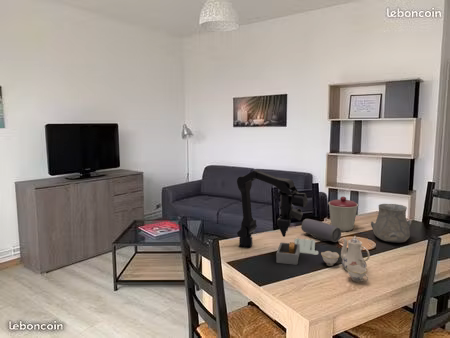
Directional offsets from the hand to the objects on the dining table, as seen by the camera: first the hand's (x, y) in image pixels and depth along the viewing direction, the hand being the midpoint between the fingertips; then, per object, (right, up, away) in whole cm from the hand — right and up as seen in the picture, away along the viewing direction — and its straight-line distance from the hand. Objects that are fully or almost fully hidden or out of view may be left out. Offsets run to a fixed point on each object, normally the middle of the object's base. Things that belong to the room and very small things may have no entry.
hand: (285, 233), depth 174 cm
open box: (+1, -12, -2) cm, 12 cm away
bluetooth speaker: (+25, -8, +26) cm, 37 cm away
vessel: (+65, -8, +21) cm, 69 cm away
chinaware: (+26, -14, -17) cm, 34 cm away
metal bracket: (+12, -11, +10) cm, 19 cm away
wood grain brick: (+1, -11, -2) cm, 12 cm away
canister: (+44, -5, +43) cm, 62 cm away
